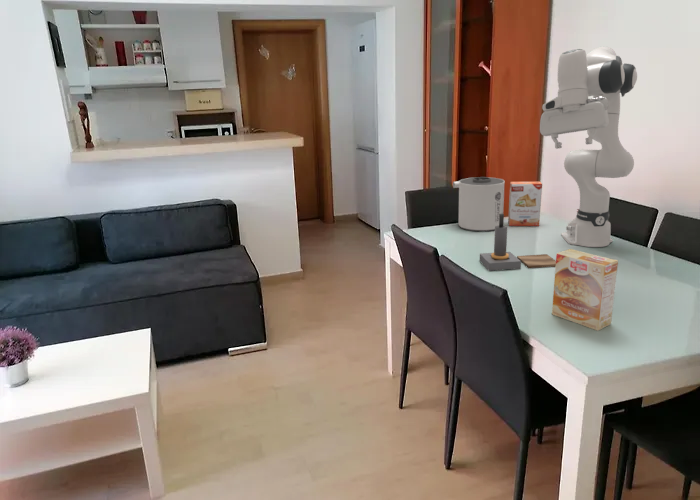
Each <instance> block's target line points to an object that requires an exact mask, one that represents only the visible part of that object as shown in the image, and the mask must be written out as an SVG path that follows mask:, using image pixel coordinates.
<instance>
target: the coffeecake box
mask: <svg viewBox="0 0 700 500" xmlns="http://www.w3.org/2000/svg"><path fill="white" fill-rule="evenodd" d="M555 261H556V267H555V268H554V269H555V270H554V280H553V281H554V282H553V294H552V295H553V296H552V308H551V316H552V315H553V316H555V317H558V318H561V319H564V320H566V321H570V322H573V323H575V324H578V325H581V326H583V327H587V328H589V329H591V330H595V331H597V332H599V331H601V330H602V329H603V328H606V327H608V326H610V325H611V324H612V319H613V310H614V299H615V293H616V292H615V290H616V282H617V274H618V265H619V260H618V259H614V258H609V257H605V256H601V255H596V254H592V253H589V252H585V251H581V250H577V249H573V248H569V249H566V250H563V251H559V252H557V253H556V258H555Z"/></svg>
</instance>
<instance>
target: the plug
mask: <svg viewBox="0 0 700 500" xmlns="http://www.w3.org/2000/svg"><path fill="white" fill-rule="evenodd" d="M504 217H505V214H504V213H503V214H499V226H495V230H494V241H493V243H494V244H493V252H491V253H492V254H491V257H492V258H494V260H506V259H507V258H509V254H508V253H506V252H507V248H508V247H507V243H508V241H507V240H508V226H507V225H504V221H505V218H504Z"/></svg>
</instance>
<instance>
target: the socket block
mask: <svg viewBox="0 0 700 500" xmlns="http://www.w3.org/2000/svg"><path fill="white" fill-rule="evenodd" d="M492 253H493V252H483V253H482V252H481V253H479V262H480V261H481V262H482V263H483V264H482V263H481V262H480V263H481V264H482V265H483V266H484V267H485V268H486V269H487V270H488V272H490V271H494V270H496V271H503V270H502V269H511V270H521V268H522V266H521V265H522V262H521V261H520V260H519V259H518V258H517V256H515V254H513V253H512V252H511V251H506V253H508V254H509V258H507V259H506V260H494V258H492V257H491V254H492Z"/></svg>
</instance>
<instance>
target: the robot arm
mask: <svg viewBox="0 0 700 500" xmlns="http://www.w3.org/2000/svg"><path fill="white" fill-rule="evenodd" d="M637 80H638V72H637V68H636V67H635V65H634V64H631V63H623V60H622V58H621V57H620V56H619V55H617V53H616V52H615V50H614V49H613V48H611V47H609V46H600V47H596V48H593V49H592V50H590V51H589V52H588V53H586V50H585V49H581V48H577V49H572V50H567V51H565V52H562V53H561V54H560V55H559V58H558V65H557V83H558V91H557V96H556V97H555V98H553V99H551V100H549V101H547V102H544V104H542V107H541V108H542V110H543V113H542V114H541V116H540V120H539V132H540V134H541V135H542V136H544V137H551V140H552V141H553V142H554V148H555V149H556V150H557V149H562V147H563V146H562V144H563V143H562V142H560V141H559V140H558V139H559V135H563V134H564V135H565V134H570V133H576V132H585V131H586V132H587V133H586V134H587V135H588V137H585V145H593V140H594V142H598V143H599V144H600V145H601V149H578V150H572V151H570V152H568V153H567V154H566V157H565V159H564V160H563V161H564V163H563V165H564V166H563V167H564V170H565V171H566V173H567V174H568V175H569V176H571V177H572V178H573V179H574V181H575V183H576V184H577V186H578V189H579V208H577V209H576V216H575V218H574V219H572V220H570V221H569V222H568V224H567V225H566V227H565V230H566V231H563V232H561V233H560V236H561V237H562V238H563V239H564V240H565V241H566V242H567V244H568V245H572V246H573V245H574V246H575V245H576V246H582V247H589V248H602V247H608V246H609V245H610V243H613V242H614V241H613V238H611V233H612V232H611V229H612V227H611V226H612V225H611V222H610V221H609V219H610V210H609V206H610V198H611V194H610V191H609V189H607V187H605V186H603V185H601V184H599V183H598V182H597V181H596V178H604V179H605V178H607V179H618V178H624V177H627V176H629V175H630V174H631V172H632V171H633V170H634V166H635V159H634V156H633V155H632V154H631V153H630V152H629V151H627V150H626V149H625V148H624V146H623V145H622V143H621V140H620V137H619V122H620V121H619V120H620V114H621V97H622V98H623V97H625V96H626V94H627V93H630V92H631V91H632V90H633V89H634V87H635V85H636V83H637ZM620 94H621V95H620ZM589 97H591V98H589Z"/></svg>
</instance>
